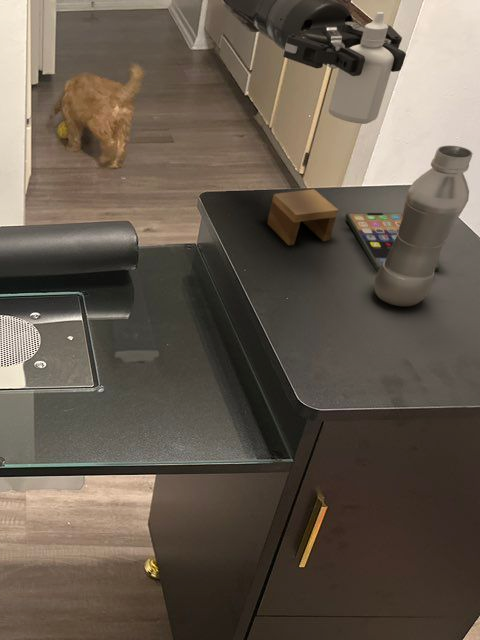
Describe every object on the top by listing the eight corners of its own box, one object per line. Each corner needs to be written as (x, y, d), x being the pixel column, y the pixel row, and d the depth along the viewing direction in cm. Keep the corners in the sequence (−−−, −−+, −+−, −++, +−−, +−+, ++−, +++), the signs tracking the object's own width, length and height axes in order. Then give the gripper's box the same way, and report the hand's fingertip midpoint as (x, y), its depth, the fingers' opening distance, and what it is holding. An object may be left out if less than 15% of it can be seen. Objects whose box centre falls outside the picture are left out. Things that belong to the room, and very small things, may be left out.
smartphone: (376, 271, 101) (379, 263, 100) (344, 219, 112) (346, 212, 111) (438, 271, 100) (441, 263, 99) (399, 219, 111) (401, 212, 110)
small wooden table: (306, 218, 113) (314, 188, 110) (329, 240, 108) (338, 209, 104) (266, 223, 113) (273, 193, 109) (288, 245, 107) (296, 214, 104)
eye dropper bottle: (346, 127, 88) (375, 21, 80) (323, 110, 92) (349, 8, 84) (380, 123, 88) (413, 17, 80) (356, 106, 92) (385, 4, 85)
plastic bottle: (360, 299, 96) (412, 153, 83) (383, 279, 99) (437, 136, 86) (410, 319, 92) (473, 168, 79) (432, 297, 95) (496, 150, 82)
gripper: (261, -1, 94) (330, 36, 81) (366, -11, 95) (450, 23, 82) (250, 60, 99) (313, 104, 86) (349, 49, 100) (427, 91, 87)
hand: (380, 64), depth 84 cm, fingers closed on eye dropper bottle, 4 cm apart
